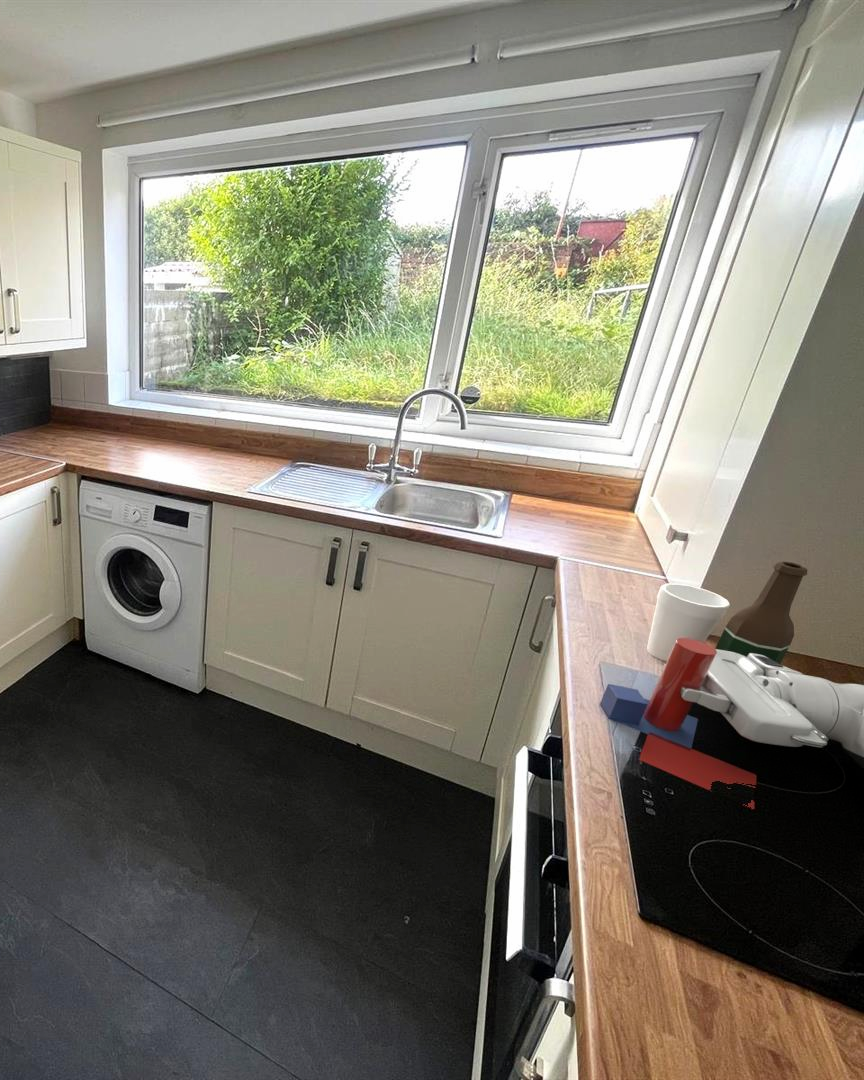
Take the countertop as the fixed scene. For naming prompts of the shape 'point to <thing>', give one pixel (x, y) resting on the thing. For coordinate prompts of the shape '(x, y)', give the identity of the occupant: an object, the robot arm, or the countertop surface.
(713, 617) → the foam cup
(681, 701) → the red canister
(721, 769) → the red mat
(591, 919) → the countertop surface
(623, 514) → the countertop surface
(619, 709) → the blue block
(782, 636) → the beer bottle
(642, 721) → the blue mat
